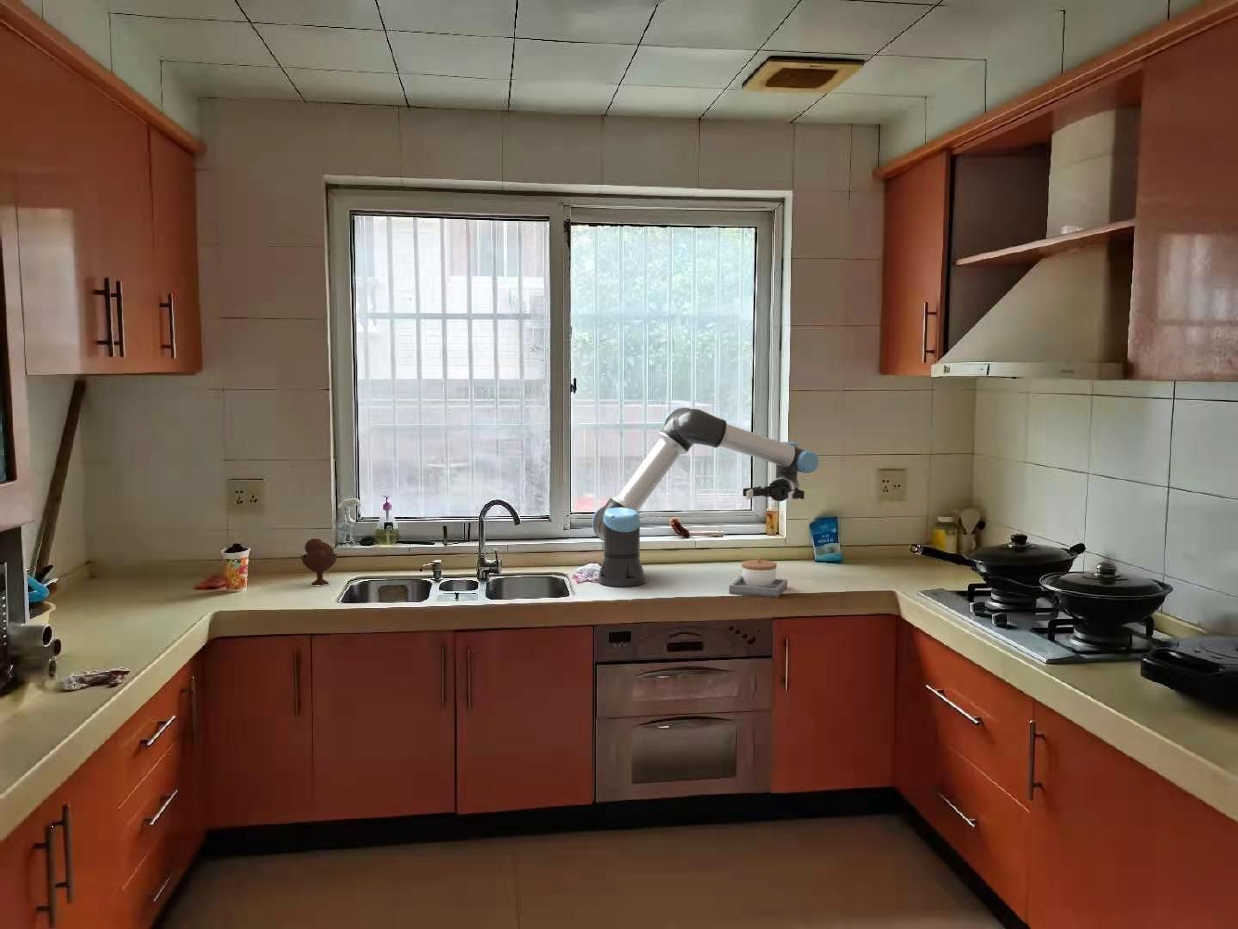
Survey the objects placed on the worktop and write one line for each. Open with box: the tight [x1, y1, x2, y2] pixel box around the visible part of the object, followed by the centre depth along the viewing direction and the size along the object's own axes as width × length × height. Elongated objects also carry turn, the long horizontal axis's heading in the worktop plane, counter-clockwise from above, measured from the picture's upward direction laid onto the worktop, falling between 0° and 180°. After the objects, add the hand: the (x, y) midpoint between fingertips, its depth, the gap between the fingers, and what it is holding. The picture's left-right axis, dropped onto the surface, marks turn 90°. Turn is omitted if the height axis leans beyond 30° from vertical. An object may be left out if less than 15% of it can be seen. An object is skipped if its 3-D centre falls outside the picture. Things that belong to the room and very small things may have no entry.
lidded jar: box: [741, 557, 777, 588], centre depth 276 cm, size 11×11×9 cm
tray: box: [728, 575, 788, 599], centre depth 277 cm, size 15×15×2 cm
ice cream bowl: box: [300, 538, 338, 586], centre depth 285 cm, size 11×11×15 cm
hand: (768, 496), depth 286 cm, fingers open, 13 cm apart
